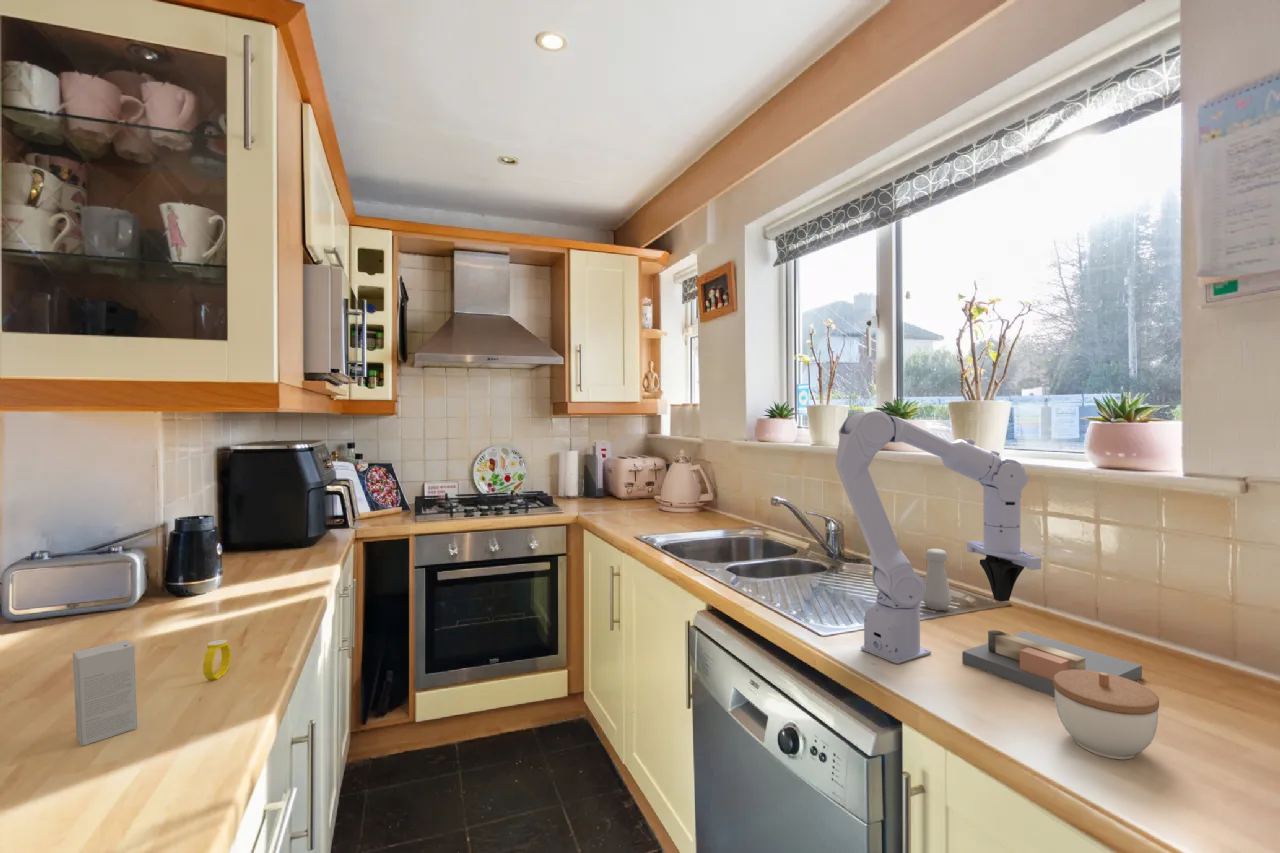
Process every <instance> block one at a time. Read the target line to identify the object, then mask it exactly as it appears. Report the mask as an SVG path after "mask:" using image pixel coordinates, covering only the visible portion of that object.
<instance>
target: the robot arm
mask: <svg viewBox="0 0 1280 853" xmlns="http://www.w3.org/2000/svg"><path fill="white" fill-rule="evenodd" d="M838 436H839V441H838V445H837V451H836V457H835V458H836V459H835V468H836V470H837V473H838V475H839V477H840V480H841V483H842V486H843V488H844V491H845V493H846V495H847V498H848V501H849V502H850V505H851V507H852V510H853V512H854V515H855V517H856V520H857V522H858V525H859V527H860V530H861V531H862V532H861V533H862V536H863V537H864V539H865V542H866V544H867V548H868V549H869V552H870V558H869V561H870V564H871V569H872V574H871V579H872V582H873V584H874V586H875V587H876V589H877V590H878V592H877V594H876V601H875V604H874V605H873V606H871V607H869V608H868V609H867V610H866V611H865V613H864V617H863V640H864V641H863V644H864V645H861V646H860V649H861V650H862V651H864V652H867V653H870V654H871V655H874V656H876V657H879V658H882V659H883V660H886V661H888V662H891V663H893V664H901V663H905V662H908V661H910V660H914V659H917V658H922V657H923V656H927V655H930V654H932V650H931V649H929V648H925V647H923V646H921V614H920V613H921V612H920V611H921V607H920V604H921V602H922V601H924V600H923V598H924V596H925V592H926V587H925V583H924V582H925V580H923V578H922V577H921V576H920V575H919V574H918V573H917V572H915V570H914V568H913V566H912V564H911V562H910V560H909V559H908V558H907V557H906V555H905V554H904V552H903V551H902V549H901V547H900V545H899V542H898V540H897V538H896V535H895V533H894V530H893V528H892V525H891V522H890V520H889V517H888V515H887V513H886V512H887V511H886V510H885V508H884V505H883V503H882V501H881V498H880V495H879V493H878V490H877V488H876V485H875V482H874V481H873V478H872V475H871V473H870V470H869V467H870V465H871V463H872V461H873V459H874V458H875V457H876V455H877V453H878V452H880V451H881V450H883V448H885V446H886V445H888V443H904V444H906V445H909V446H912V447H914V448H916V449H919V450H922V451H924V452H927V453H928V454H932V455H934V456H937V457H939V458H941V461H942V464H943V466H944V468H946V469H948V470H951V471H953V472H956V473H958V474H960V475H962V476H964V477H967V478H969V479H971V480H974V481H976V482H978V483H979V484H980V485H981V486H982V487H983V488H982V489H983V495H982V496H983V506H982V507H983V508H982V511H983V512H982V514H983V516H982V517H983V525H982V526H983V528H982V529H983V531H982V532H983V533H982V534H983V535H982V536H983V538H982V539H983V542H981V541H977V540H971V541H970V540H969V541H967V542H966V551H967V552H968V553H975V554H979V555H982V556H985V558H983V559H979V565H980V566H981V568H982V569H983V571H984V573H985V575H986V577H987V580H988V582H989V585H990V588H991V593H992V595H993V599H994V601H998V602H1009V601H1010V599H1011V596H1012V592H1013V589H1014V586H1015V584H1016V581H1017V579H1018V578H1019V577H1020V575H1021V573H1022V572H1023V571H1024V569H1025V568H1026V569H1028V570H1031V571H1033V570H1041V569H1042V558H1041V557H1038V556H1035V555H1033V554H1032V553H1031V554H1030V553H1028V552H1026V551H1025V549H1024V548H1021V499H1022V491H1023V489H1024V488H1025V487H1026V486H1027V484H1028V480H1029V475H1028V474H1026V470H1025V467H1024V466H1022V464H1021V463H1020V462H1019V461H1017V460H1016V459H1015V460H1014V459H1009V458H1008V459H1007V458H1001V456H1000V454H1001V453H1000V452H999V451H996V450H991V451H989V450H987V449H985V448H982V447H980V446H978V445H976V441H975V440H974V439H973V440H972V439H971V438H964V439H962V438H958V439H955V440H953V441H952V440H951V441H948V440H947V439H944V438H943V437H940V436H938V435H937V434H934V433H932V432H930V431H928V430H926V429H924V428H923V427H920V426H918V425H916V424H914V423H911V422H909V421H907V420H905V419H903V418H901V417H898V416H894V415H888V414H886V413H885V412H882V411H878V410H873V411H869V412H866V411H855V412H852V413H851V414H849V415H848V416H847V417H846V418H845V420H844V422H843V423H842V425H841V426H840V428H839V430H838Z"/></svg>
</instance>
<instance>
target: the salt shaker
mask: <svg viewBox="0 0 1280 853" xmlns="http://www.w3.org/2000/svg"><path fill="white" fill-rule="evenodd" d="M924 554H925V559H926V560H927V561H928V562H927V566H926V573H925V578H924V583H925V587H926V592H925V596H924V598H923V600H922V601H923V602H924V605H925V607H926V608H927V607H928V609H929V608H930V609H935V610H934V611H936V610H944V611H947V610H948V608H949V606H950V604H951V602H952V594H951V591H950V585H949V580H948V576H947V571H946V567H945V566H946V565H945V562H947V560H948V553H947V552H946V551H945V550H944V549H941V548H929V549H927V550H926V551H925V553H924ZM930 609H929V610H930ZM946 609H947V610H946Z"/></svg>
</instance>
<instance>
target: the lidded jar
mask: <svg viewBox="0 0 1280 853" xmlns="http://www.w3.org/2000/svg"><path fill="white" fill-rule="evenodd" d="M1053 685H1054V696H1055V697H1054V703H1055V709H1056V712H1057V716H1058V718H1059V720H1060V722H1061V724H1062V726H1063V727H1064V729H1065V730H1066V732H1067V733H1068V734H1069V735H1071V737H1072V738H1073V739H1074V742H1076V744H1077V745H1078V746H1079V747H1081V748H1082V749H1084V750H1085V751H1087V752H1089V753H1092V754H1094V755H1097V756H1100V757H1104V758H1107V759H1113V760H1122V761H1123V760H1130V759H1134V758H1135V755H1137V754H1138V753H1142V752H1143V751H1144V750H1146V749H1147V748H1148V747H1149V746H1150V745H1151V744H1152V743H1153V740H1154V738H1155V735H1156V732H1157V727H1158V722H1159V719H1158V718H1159V708H1160V698H1159V696H1158V695H1157V694H1156V693H1155V692H1154V690H1152V689H1151V688H1149V687H1147V686H1145V685H1143V684H1141V683H1139V682H1137V681H1132V680H1129V679H1126V678H1123V677H1120V676H1116V675H1112V674H1108V673H1104V672H1098V671H1091V670H1064V671H1060V672H1058V673H1056V674H1055V675H1054V676H1053Z"/></svg>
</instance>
